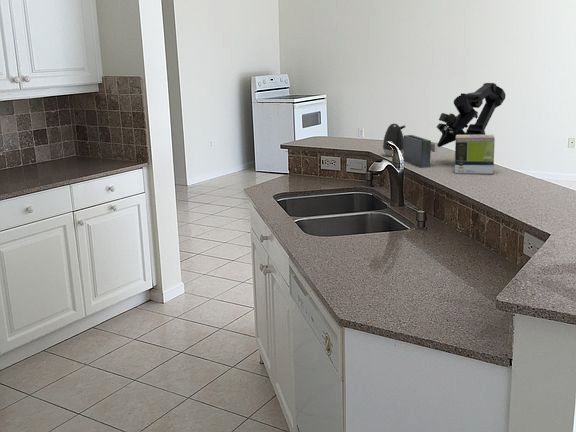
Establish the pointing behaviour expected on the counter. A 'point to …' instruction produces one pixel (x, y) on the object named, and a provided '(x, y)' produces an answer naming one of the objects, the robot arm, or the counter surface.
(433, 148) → the ivory button
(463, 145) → the tea box
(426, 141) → the button panel
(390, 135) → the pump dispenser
